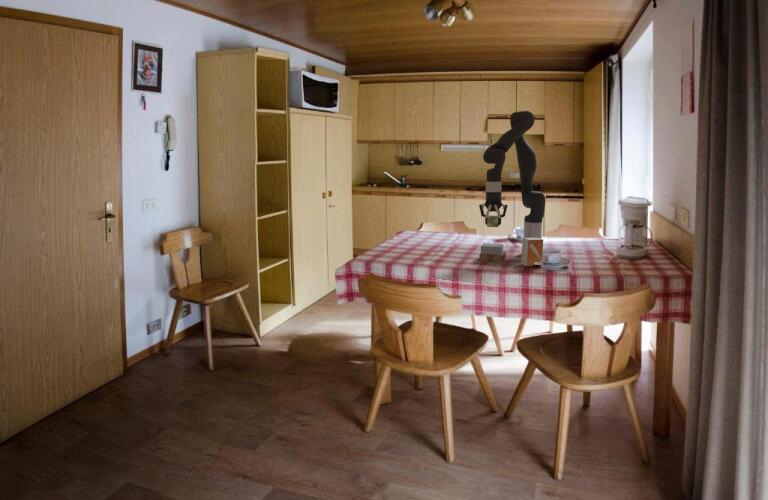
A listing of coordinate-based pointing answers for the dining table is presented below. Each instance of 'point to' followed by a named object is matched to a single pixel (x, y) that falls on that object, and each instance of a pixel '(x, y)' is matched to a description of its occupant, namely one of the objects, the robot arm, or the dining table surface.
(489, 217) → the sage cube
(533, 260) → the small box
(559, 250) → the dining table surface
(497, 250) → the slate top block
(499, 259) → the walnut base block
